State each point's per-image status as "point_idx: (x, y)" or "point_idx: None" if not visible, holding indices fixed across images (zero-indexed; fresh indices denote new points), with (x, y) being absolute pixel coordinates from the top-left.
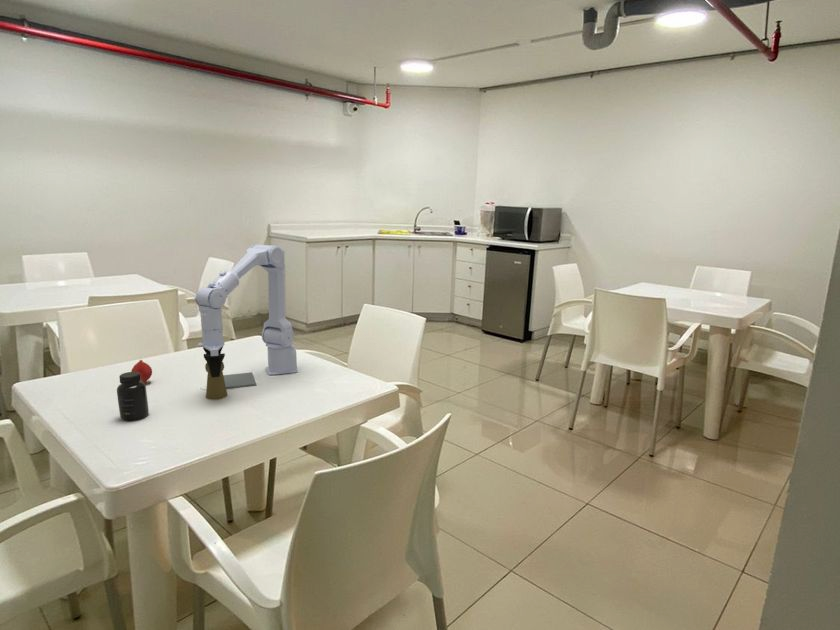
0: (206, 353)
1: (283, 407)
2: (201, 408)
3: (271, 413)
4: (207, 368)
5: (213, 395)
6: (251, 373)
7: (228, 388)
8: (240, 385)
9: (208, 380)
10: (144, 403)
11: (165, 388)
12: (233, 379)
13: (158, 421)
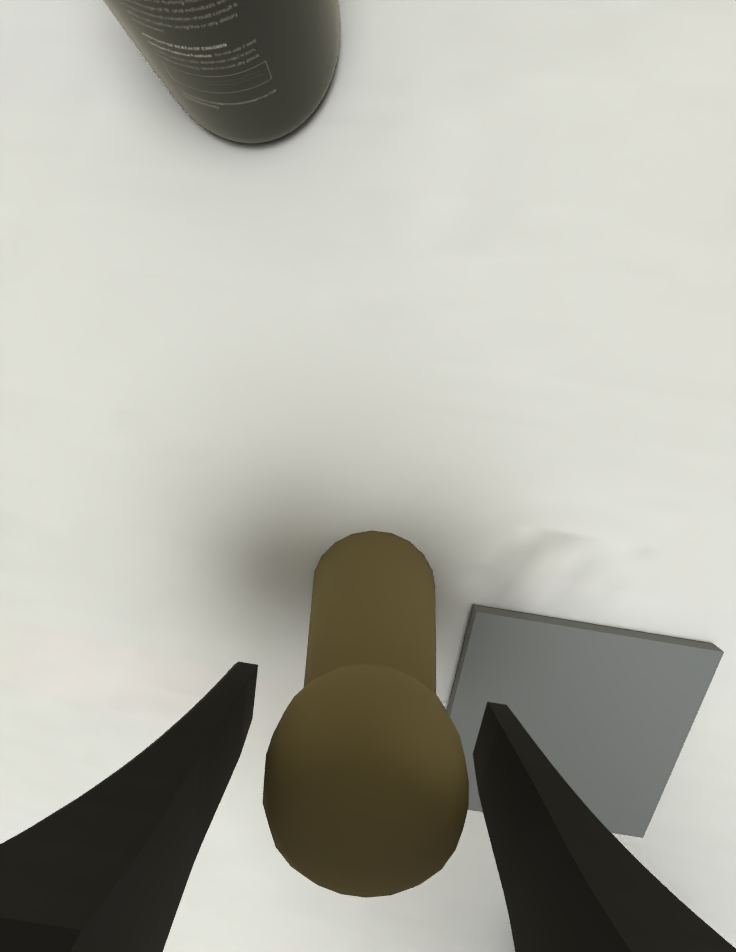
0: (593, 902)
1: (67, 800)
2: (210, 475)
3: (12, 742)
4: (316, 701)
5: (319, 575)
6: (621, 829)
7: (458, 668)
8: None
9: (346, 614)
10: (125, 28)
11: (721, 323)
12: (578, 728)
13: (97, 202)
